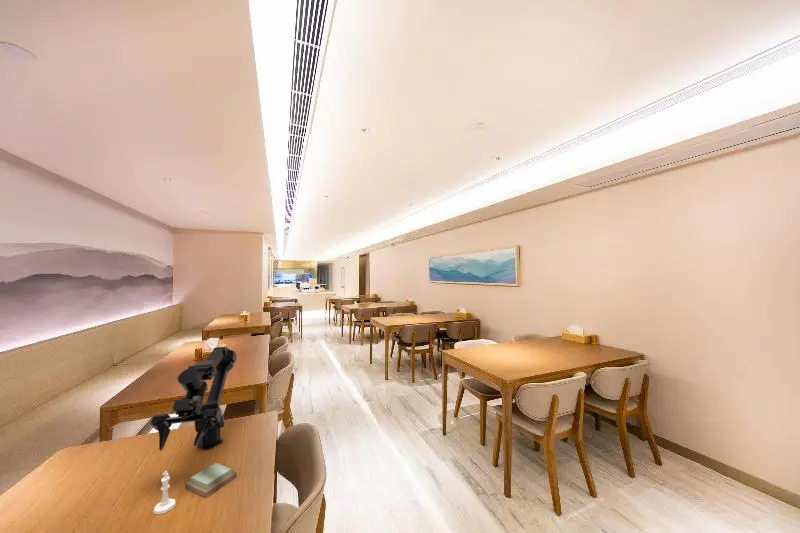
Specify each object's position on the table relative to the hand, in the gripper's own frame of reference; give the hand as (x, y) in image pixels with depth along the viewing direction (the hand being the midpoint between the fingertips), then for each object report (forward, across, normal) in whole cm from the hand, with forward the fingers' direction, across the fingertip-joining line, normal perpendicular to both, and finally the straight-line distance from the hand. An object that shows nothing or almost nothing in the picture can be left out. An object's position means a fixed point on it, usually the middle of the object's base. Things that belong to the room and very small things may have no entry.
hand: (177, 447), depth 90 cm
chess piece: (+14, 0, +4) cm, 15 cm away
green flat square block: (+8, +9, +10) cm, 16 cm away
